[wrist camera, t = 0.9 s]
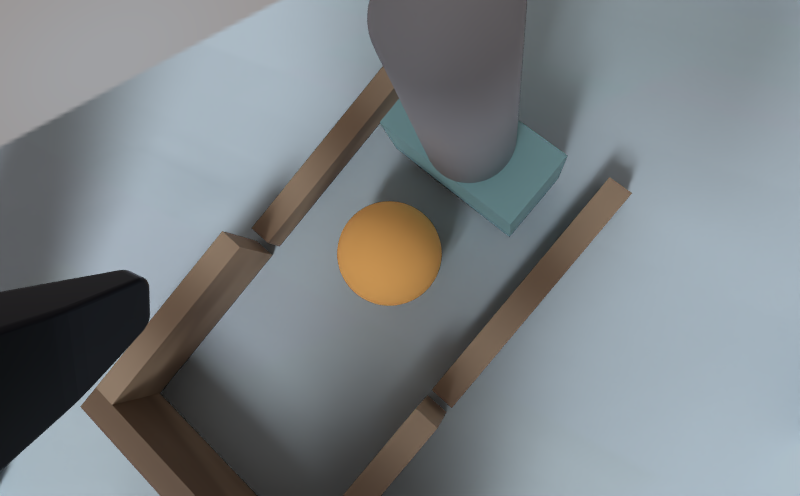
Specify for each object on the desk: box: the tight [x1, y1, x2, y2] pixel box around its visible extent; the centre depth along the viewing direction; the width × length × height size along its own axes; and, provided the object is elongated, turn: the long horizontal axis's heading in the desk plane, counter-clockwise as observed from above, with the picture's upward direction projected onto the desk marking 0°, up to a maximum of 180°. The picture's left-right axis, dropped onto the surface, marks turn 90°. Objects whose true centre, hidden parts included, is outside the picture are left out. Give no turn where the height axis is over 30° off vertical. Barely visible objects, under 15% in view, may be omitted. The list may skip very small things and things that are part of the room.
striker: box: [367, 0, 567, 237], centre depth 16 cm, size 3×6×12 cm, turn 50°
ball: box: [337, 201, 442, 306], centre depth 21 cm, size 4×4×4 cm
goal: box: [81, 67, 632, 496], centre depth 21 cm, size 20×11×3 cm, turn 140°
